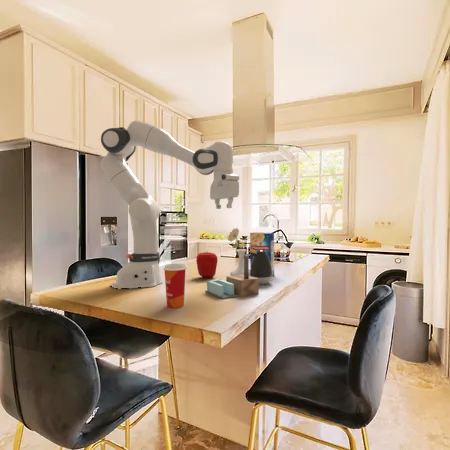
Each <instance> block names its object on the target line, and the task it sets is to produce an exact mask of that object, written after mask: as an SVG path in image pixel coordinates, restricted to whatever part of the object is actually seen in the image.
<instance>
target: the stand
mask: <svg viewBox="0 0 450 450" xmlns="http://www.w3.org/2000/svg"><path fill="white" fill-rule="evenodd" d="M249 261H250V259H249V255H247V254H246V255H245V254H244V275H243V274H241V275H233V276H231V275H227V276H226V280H225V281H226V282H229V283H232V284H234V294H237V295H239V297H246V296H251V295H252V296H253V295H259V285H260V284H258V278H255V277H251V276H249V270H250V268H249V266H250V265H249Z"/></svg>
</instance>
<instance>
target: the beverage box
mask: <svg viewBox="0 0 450 450" xmlns="http://www.w3.org/2000/svg"><path fill="white" fill-rule="evenodd" d="M249 241H250V243H249V244H250V245H249V246H250V247H249V250H250V251H249V254H250V253H251V252H253V253H256V252H257V251H258V250H263V251H265V252H266V253H267V255H268V257H269V260H270V263H271V267H272V277H273V276H275V232H249ZM253 257H254V256H253V255H251V254H250V257H249V258H250V259H249V261H250V265H249V266H250V268H251V263H252V260H253ZM250 268H249V269H250Z"/></svg>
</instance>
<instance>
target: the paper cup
mask: <svg viewBox="0 0 450 450" xmlns="http://www.w3.org/2000/svg"><path fill="white" fill-rule="evenodd" d="M186 270H187V267H186V264H185V263H167V264H165V265H164V267H163V271H164V283H165V294H166V307H167V308H169V307H170V308H169V309H178V308H183V307H184V304H185V289H186V287H185V285H186Z"/></svg>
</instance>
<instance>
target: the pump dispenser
mask: <svg viewBox="0 0 450 450" xmlns="http://www.w3.org/2000/svg"><path fill="white" fill-rule="evenodd" d="M249 254H251V255H253V256H254V257H253V260H252V263H251V268H249V270H250V276H251V277H255V278H258V285H267V284H268V283H270V282H271V280H272V277H273V276H272V267H271V263H270V260H269V257H268V255H267V253H266V252H265V251H263V250H258V251H257V252H256V253H253V252H251V253H250V252H249Z"/></svg>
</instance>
